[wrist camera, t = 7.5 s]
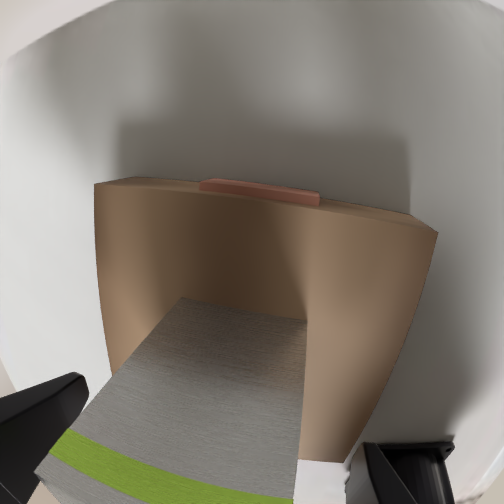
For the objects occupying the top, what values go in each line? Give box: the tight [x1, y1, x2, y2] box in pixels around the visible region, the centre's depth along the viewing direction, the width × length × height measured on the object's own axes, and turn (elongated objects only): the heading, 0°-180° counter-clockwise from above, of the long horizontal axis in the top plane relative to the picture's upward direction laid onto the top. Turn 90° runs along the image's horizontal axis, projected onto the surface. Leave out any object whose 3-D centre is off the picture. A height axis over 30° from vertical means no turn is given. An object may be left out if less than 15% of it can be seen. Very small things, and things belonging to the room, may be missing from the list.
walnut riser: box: [94, 177, 438, 463], centre depth 13 cm, size 12×12×3 cm
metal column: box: [34, 297, 308, 504], centre depth 7 cm, size 4×4×8 cm
